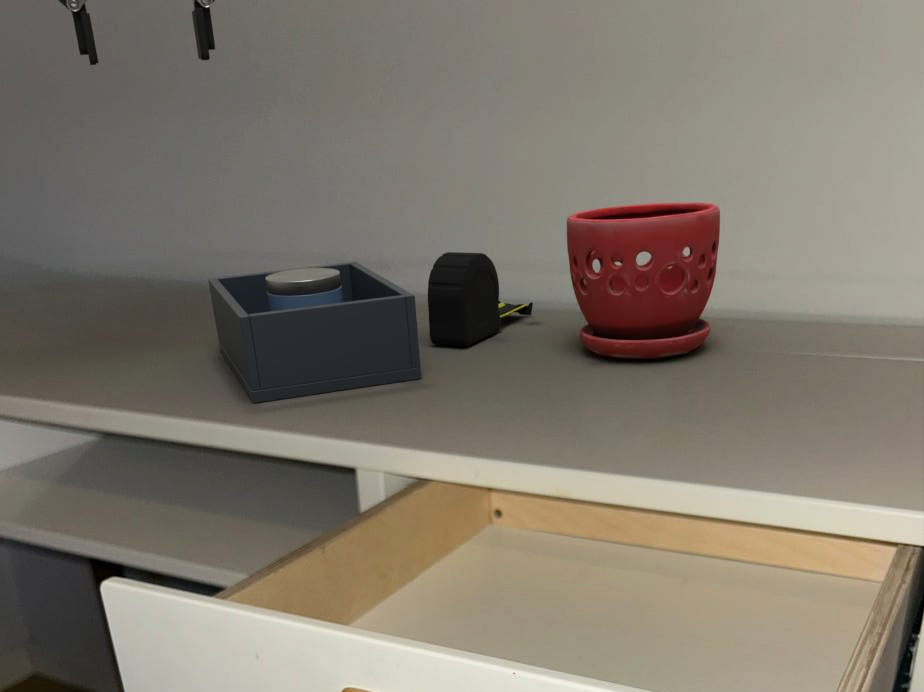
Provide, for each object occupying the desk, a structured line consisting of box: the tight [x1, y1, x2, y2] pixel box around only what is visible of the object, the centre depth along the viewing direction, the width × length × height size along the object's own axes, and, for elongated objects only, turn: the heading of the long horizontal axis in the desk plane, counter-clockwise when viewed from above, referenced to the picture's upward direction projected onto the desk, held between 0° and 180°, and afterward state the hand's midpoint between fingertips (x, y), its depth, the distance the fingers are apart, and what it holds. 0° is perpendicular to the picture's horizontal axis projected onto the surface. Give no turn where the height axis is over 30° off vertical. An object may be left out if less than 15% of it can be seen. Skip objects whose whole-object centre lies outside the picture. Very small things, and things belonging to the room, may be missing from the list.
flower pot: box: [566, 202, 721, 360], centre depth 94 cm, size 13×13×12 cm
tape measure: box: [427, 251, 534, 347], centre depth 105 cm, size 15×4×8 cm, turn 152°
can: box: [265, 268, 344, 311], centre depth 97 cm, size 7×7×7 cm
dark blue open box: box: [207, 261, 422, 404], centre depth 97 cm, size 15×21×7 cm
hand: (150, 62), depth 96 cm, fingers open, 9 cm apart
